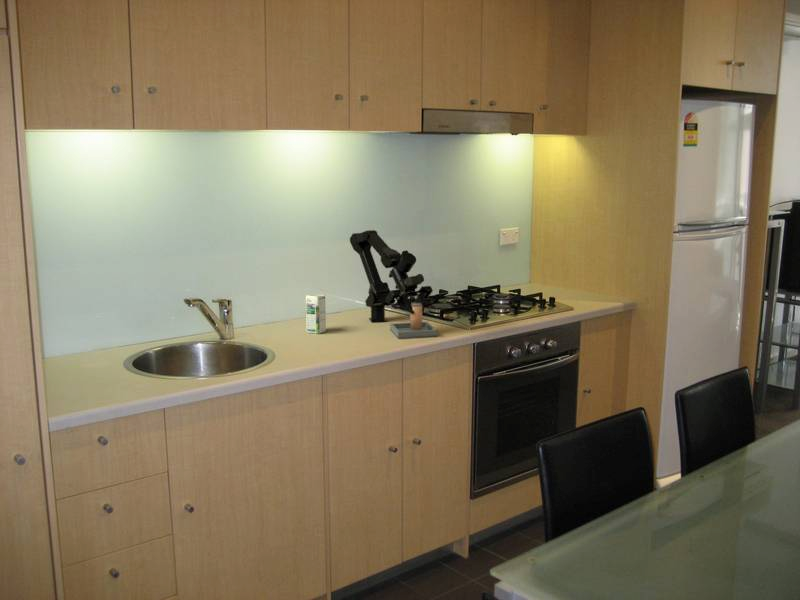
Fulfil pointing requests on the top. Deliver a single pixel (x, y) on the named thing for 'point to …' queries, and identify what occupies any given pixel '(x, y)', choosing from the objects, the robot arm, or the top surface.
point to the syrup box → (315, 314)
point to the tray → (412, 331)
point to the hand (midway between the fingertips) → (418, 312)
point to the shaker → (416, 316)
